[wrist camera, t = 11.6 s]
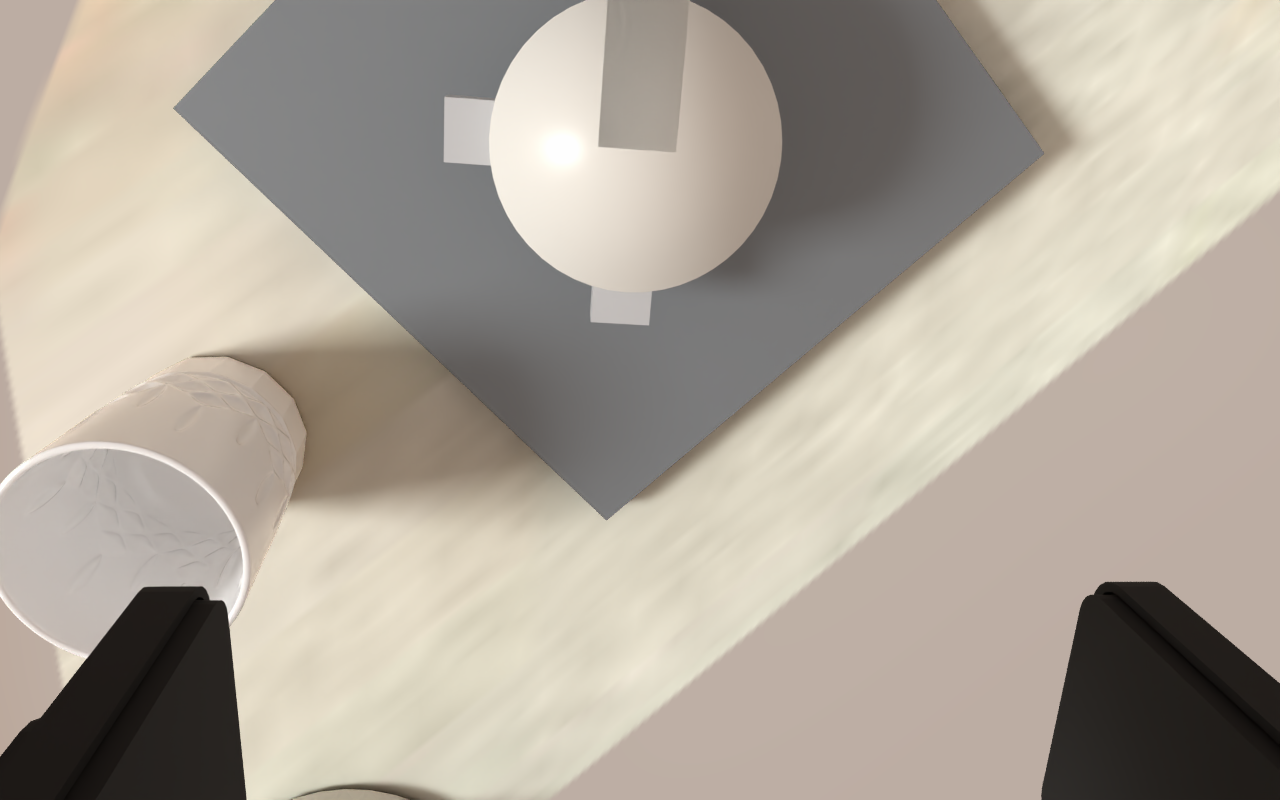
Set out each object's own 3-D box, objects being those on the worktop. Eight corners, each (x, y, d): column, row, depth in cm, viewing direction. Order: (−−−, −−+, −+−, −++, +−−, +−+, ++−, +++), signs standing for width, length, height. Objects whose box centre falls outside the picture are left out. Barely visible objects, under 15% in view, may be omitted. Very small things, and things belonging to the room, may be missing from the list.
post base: (605, 503, 42) (609, 550, 38) (188, 104, 35) (144, 114, 31) (1026, 148, 38) (1077, 162, 34) (649, -382, 31) (661, -437, 27)
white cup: (349, 495, 41) (287, 634, 32) (166, 540, 41) (51, 691, 32) (281, 318, 38) (191, 414, 29) (85, 367, 38) (-68, 477, 29)
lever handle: (744, 323, 35) (797, 410, 27) (445, 305, 34) (410, 391, 26) (826, -344, 28) (930, -487, 20) (453, -391, 27) (409, -562, 19)
